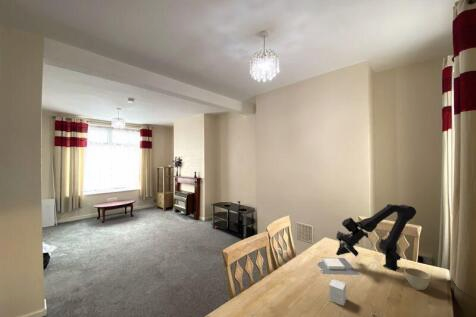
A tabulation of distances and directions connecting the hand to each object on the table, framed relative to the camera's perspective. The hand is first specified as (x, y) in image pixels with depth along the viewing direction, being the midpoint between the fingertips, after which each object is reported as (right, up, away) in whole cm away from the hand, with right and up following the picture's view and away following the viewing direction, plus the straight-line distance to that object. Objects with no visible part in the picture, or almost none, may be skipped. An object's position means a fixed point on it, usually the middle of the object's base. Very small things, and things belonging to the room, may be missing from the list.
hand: (336, 254), depth 124 cm
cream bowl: (+30, -6, -22) cm, 38 cm away
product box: (-14, -7, -30) cm, 34 cm away
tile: (+2, -5, 0) cm, 6 cm away
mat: (-1, -7, 0) cm, 7 cm away
